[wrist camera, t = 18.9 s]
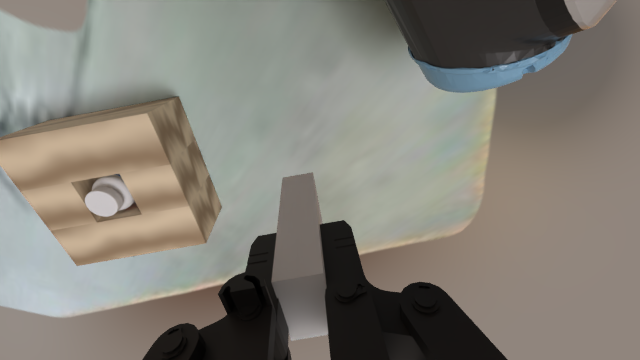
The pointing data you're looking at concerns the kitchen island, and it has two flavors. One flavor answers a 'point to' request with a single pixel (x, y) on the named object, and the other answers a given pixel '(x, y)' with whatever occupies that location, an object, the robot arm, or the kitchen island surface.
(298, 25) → the kitchen island surface
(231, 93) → the kitchen island surface
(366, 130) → the kitchen island surface
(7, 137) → the socket block
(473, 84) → the robot arm
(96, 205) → the pill bottle
